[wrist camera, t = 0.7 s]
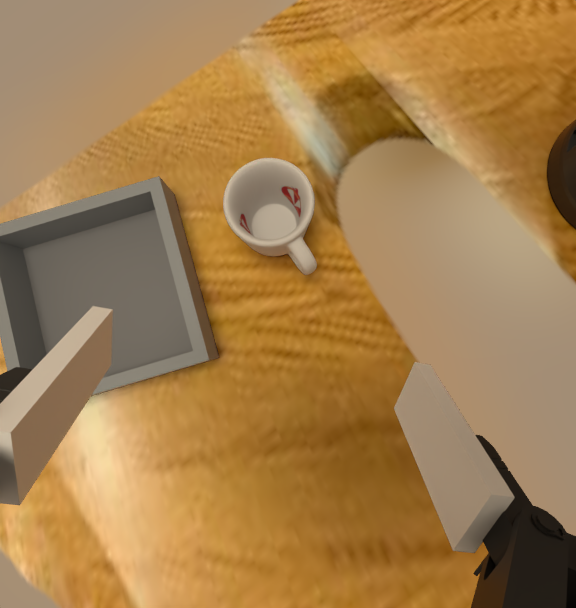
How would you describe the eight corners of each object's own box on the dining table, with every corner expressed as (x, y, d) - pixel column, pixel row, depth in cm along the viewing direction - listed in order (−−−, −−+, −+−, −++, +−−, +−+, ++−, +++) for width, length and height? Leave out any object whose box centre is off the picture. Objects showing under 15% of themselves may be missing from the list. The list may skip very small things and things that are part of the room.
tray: (174, 194, 41) (159, 176, 37) (219, 357, 39) (209, 359, 35) (12, 242, 41) (-23, 230, 37) (49, 408, 39) (17, 417, 35)
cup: (341, 258, 40) (352, 238, 32) (279, 301, 40) (274, 291, 32) (284, 178, 41) (280, 139, 33) (223, 219, 41) (204, 189, 33)
